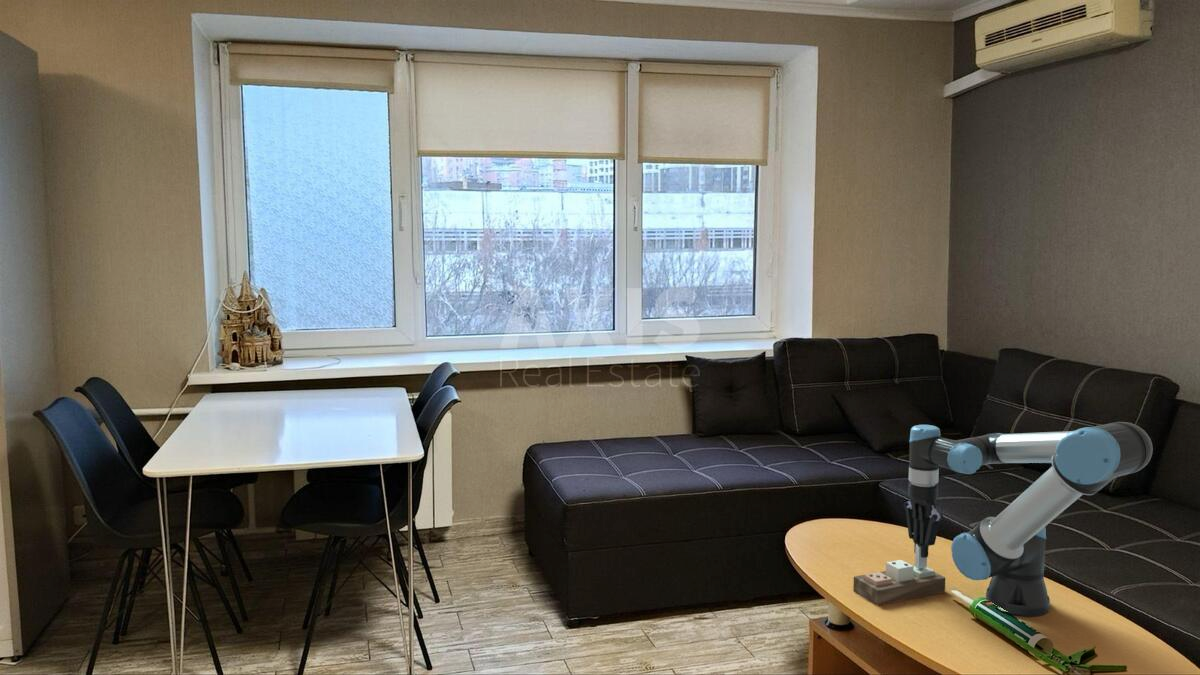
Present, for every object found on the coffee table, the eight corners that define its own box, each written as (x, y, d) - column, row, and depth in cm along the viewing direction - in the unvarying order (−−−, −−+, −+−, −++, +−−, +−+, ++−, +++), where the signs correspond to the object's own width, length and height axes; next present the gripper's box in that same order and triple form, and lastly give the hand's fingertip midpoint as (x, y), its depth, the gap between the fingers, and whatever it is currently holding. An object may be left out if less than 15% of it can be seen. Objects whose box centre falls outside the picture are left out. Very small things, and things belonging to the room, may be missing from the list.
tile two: (913, 584, 243) (913, 565, 242) (897, 586, 241) (898, 568, 240) (900, 577, 247) (901, 558, 247) (885, 580, 246) (886, 561, 245)
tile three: (891, 596, 241) (891, 577, 240) (875, 599, 239) (876, 580, 238) (879, 589, 245) (879, 571, 245) (863, 592, 244) (864, 574, 243)
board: (944, 591, 244) (945, 577, 243) (876, 605, 236) (877, 590, 236) (919, 578, 253) (920, 564, 252) (853, 590, 245) (853, 576, 245)
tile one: (933, 588, 245) (934, 570, 245) (918, 591, 244) (919, 572, 243) (921, 581, 250) (921, 563, 249) (906, 584, 248) (907, 566, 248)
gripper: (951, 487, 238) (948, 573, 241) (918, 475, 250) (915, 557, 254) (928, 491, 236) (926, 578, 239) (895, 478, 248) (893, 561, 251)
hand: (920, 567), depth 246 cm, fingers closed
